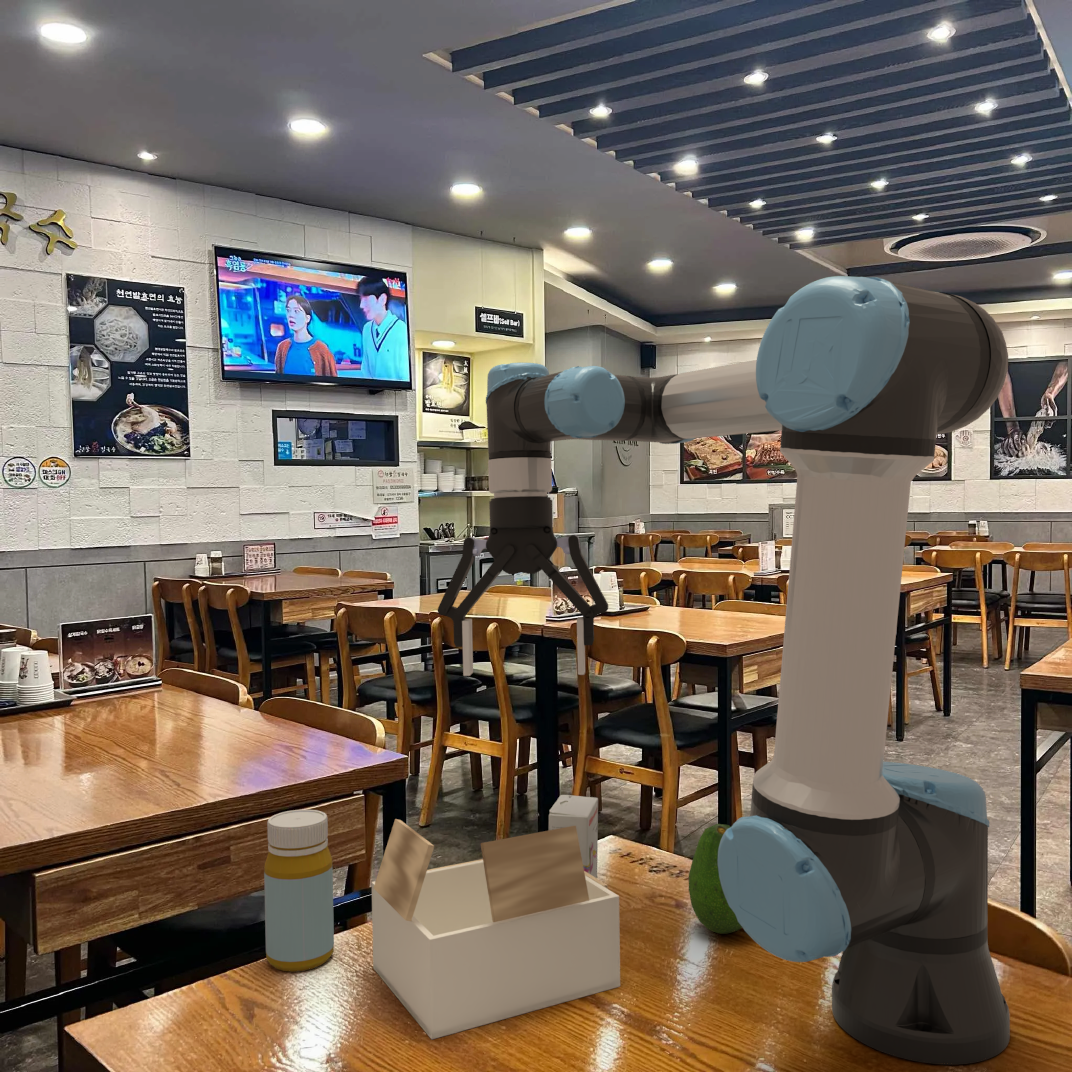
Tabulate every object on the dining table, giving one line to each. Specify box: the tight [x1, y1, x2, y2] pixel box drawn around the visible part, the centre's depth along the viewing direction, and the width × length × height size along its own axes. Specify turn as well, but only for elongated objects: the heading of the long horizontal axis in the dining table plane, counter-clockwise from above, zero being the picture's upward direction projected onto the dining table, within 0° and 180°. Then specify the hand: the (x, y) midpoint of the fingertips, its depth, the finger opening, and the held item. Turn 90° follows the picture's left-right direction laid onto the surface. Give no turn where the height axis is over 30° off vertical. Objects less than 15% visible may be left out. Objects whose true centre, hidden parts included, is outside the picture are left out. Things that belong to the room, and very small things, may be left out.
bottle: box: [263, 809, 335, 973], centre depth 105 cm, size 7×7×15 cm
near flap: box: [480, 826, 589, 922], centre depth 94 cm, size 1×10×7 cm, turn 119°
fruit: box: [688, 823, 743, 935], centre depth 110 cm, size 8×8×12 cm
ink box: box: [548, 794, 599, 879], centre depth 119 cm, size 9×5×12 cm, turn 168°
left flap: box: [374, 818, 435, 921], centre depth 95 cm, size 9×1×7 cm, turn 28°
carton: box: [371, 858, 621, 1040], centre depth 101 cm, size 17×21×9 cm
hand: (524, 674), depth 118 cm, fingers open, 13 cm apart
